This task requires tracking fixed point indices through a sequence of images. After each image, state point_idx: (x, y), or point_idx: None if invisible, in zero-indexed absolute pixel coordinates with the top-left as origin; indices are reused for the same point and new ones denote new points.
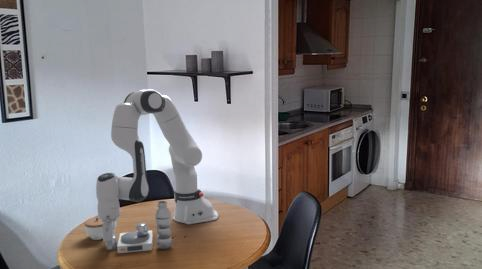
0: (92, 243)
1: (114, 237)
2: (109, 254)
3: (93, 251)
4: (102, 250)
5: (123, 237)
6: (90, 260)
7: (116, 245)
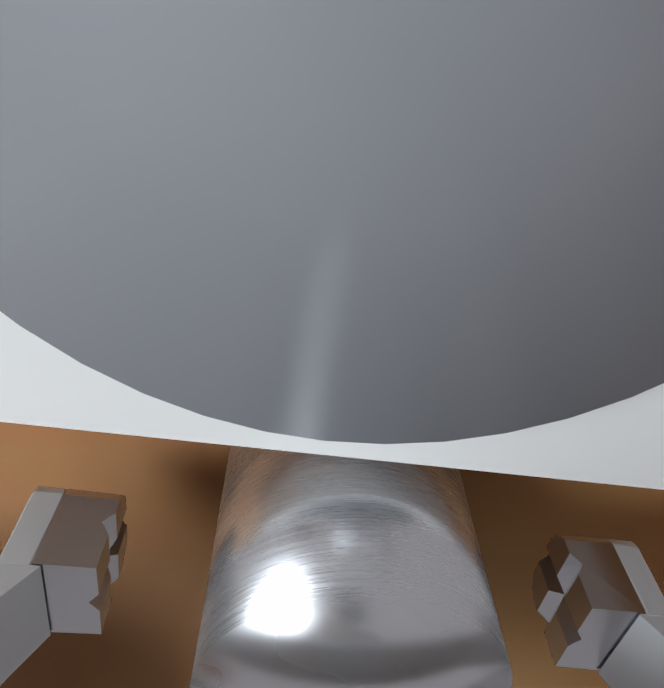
0: (57, 660)
1: (443, 641)
2: (610, 495)
3: None
4: None
5: (353, 378)
6: None
7: None
